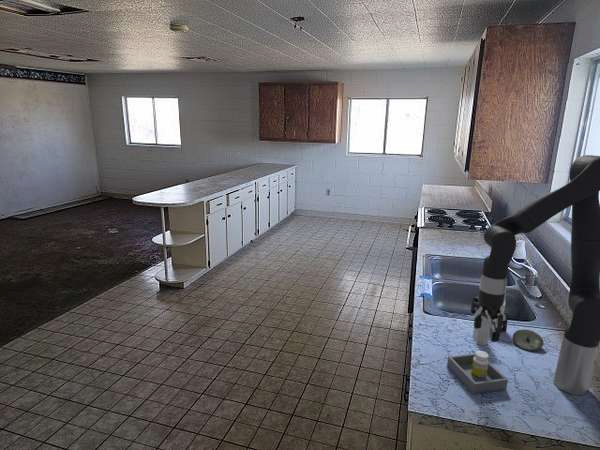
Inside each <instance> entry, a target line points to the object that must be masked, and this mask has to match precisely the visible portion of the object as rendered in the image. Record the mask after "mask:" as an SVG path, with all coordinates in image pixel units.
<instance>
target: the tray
mask: <svg viewBox="0 0 600 450" xmlns="http://www.w3.org/2000/svg"><path fill="white" fill-rule="evenodd" d="M475 353H476V352H475ZM475 353H469V354H466V353H465V354H460V355H458V354H457V355H451V356H447V363H446V367H447V368H448V369H449V371H450V372H451V373H452V374H454V376H455V377H456V378H457V379H458V380H459V381H460V383H462V385H463V386H464V387H465V388H466V389H467V390H468V391H469V392H470V393H471V394H472V395H473V396H476V395H482V394H488V393H489V394H490V393H497V392H504V391H507V388H508V384H509V383H508V382H509V379H508V378H507V377H506V376H505V375H503V374H502V373H501V372H500V371H499V369H497V368H496V367H494V365H493V364H492V363H490V362H489V363H488V369H487V375H486V378H485V379H484V380H479V379H476V378H474V377H473V376H472V375H471V370H472V364H473V358H474V357H475Z"/></svg>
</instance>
